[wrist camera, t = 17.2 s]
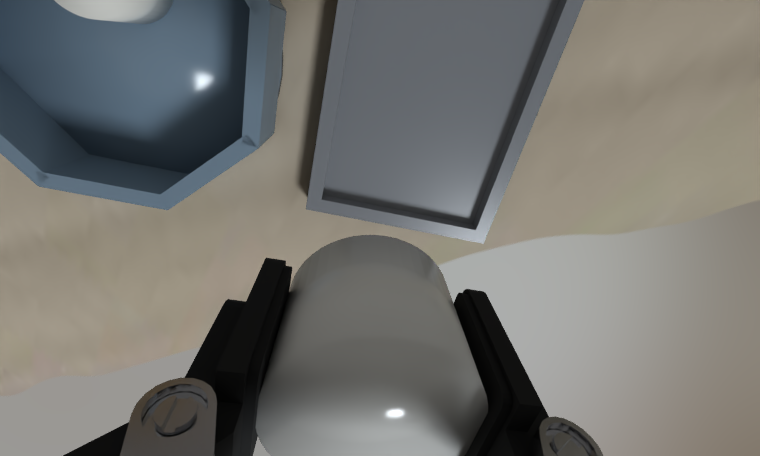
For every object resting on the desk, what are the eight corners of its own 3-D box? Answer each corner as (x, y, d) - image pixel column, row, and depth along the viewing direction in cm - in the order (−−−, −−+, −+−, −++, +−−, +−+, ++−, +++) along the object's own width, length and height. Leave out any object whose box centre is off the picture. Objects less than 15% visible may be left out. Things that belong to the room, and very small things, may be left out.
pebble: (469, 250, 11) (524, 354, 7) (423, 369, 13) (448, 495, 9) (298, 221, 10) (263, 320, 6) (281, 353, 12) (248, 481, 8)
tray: (585, -40, 22) (603, -47, 20) (477, 233, 30) (483, 243, 28) (358, -113, 20) (357, -127, 18) (309, 199, 28) (305, 209, 26)
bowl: (300, -96, 20) (282, -134, 16) (269, 198, 28) (252, 225, 24) (-70, -209, 18) (-209, -291, 13) (11, 147, 25) (-60, 168, 21)
